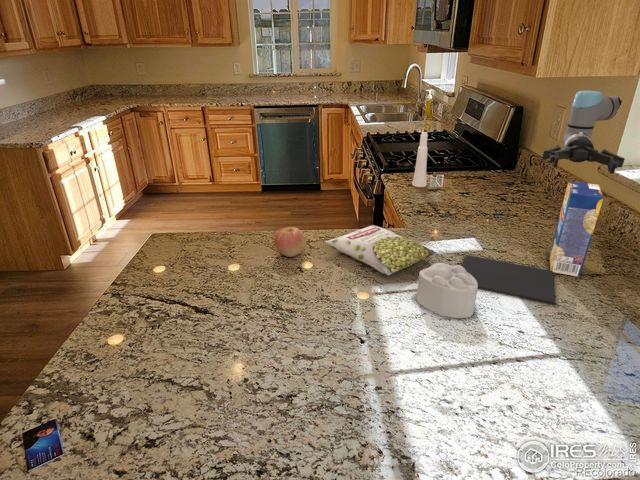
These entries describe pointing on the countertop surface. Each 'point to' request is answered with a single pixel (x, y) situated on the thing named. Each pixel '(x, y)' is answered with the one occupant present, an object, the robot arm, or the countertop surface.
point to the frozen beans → (381, 249)
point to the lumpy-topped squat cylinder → (447, 290)
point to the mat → (511, 278)
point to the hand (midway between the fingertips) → (584, 165)
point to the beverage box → (575, 227)
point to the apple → (289, 241)
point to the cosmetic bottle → (421, 163)
